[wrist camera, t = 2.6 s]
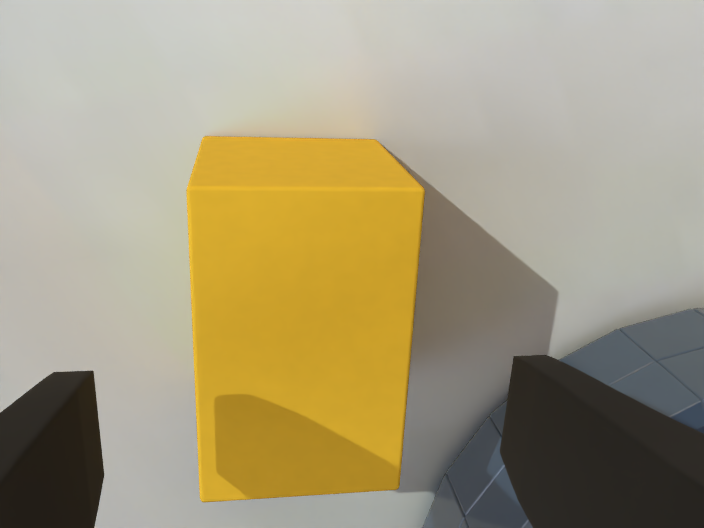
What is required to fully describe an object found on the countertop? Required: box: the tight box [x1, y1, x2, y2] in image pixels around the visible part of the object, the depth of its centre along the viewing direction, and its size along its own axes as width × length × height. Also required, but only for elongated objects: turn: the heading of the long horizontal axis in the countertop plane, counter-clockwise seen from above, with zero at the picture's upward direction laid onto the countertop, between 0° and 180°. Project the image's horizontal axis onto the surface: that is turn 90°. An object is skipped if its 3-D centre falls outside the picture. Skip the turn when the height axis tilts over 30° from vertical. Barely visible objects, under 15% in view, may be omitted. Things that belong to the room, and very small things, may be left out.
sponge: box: [187, 136, 425, 502], centre depth 16 cm, size 4×7×5 cm, turn 178°
